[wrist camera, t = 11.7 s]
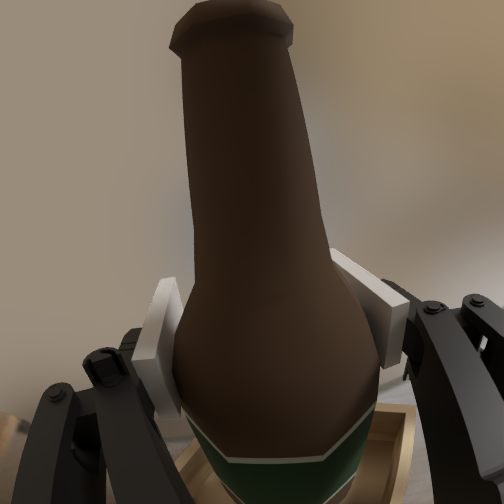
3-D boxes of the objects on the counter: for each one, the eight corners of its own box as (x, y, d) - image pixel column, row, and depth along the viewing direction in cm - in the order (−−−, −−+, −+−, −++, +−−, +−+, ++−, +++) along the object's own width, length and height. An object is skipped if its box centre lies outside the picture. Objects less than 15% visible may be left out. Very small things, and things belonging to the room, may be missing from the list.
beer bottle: (362, 455, 15) (370, 34, 8) (322, 547, 8) (304, -105, 1) (264, 433, 19) (205, 72, 11) (210, 508, 12) (54, 50, 5)
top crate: (248, 414, 24) (239, 380, 22) (402, 439, 17) (416, 405, 16) (159, 529, 12) (130, 509, 10) (355, 593, 5) (371, 593, 3)
